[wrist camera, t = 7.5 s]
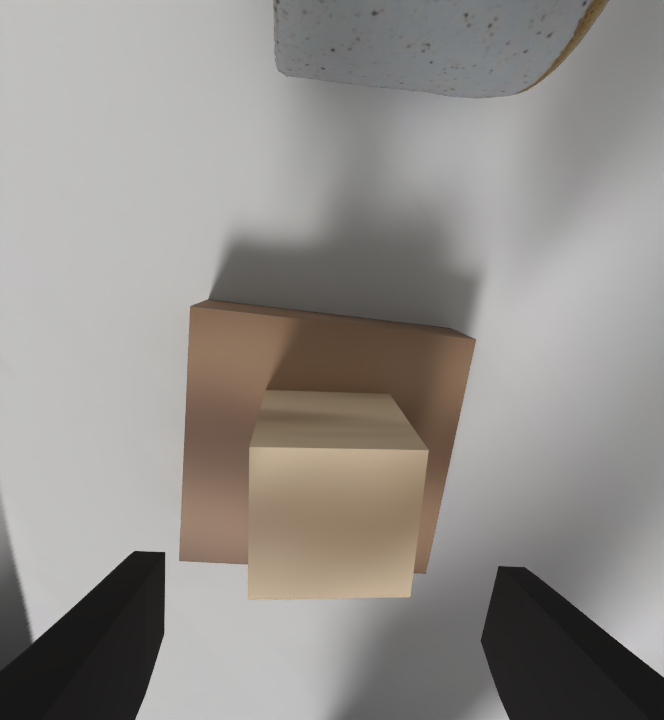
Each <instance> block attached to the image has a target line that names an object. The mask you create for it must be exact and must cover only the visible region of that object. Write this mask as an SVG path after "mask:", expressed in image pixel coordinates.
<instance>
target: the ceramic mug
mask: <svg viewBox="0 0 664 720" xmlns="http://www.w3.org/2000/svg"><path fill="white" fill-rule="evenodd" d="M608 1H609V0H273V4H274V41H275V62H276V67H277V69H278V71H279V72H281V73H282V74H284V75H285V76H290V77H301V78H310V79H319V80H326V81H334V82H341V83H348V84H356V85H365V86H374V87H384V88H393V89H403V90H412V91H422V92H428V93H434V94H440V95H445V96H454V97H466V98H490V97H500V96H510V95H514V94H518V93H521V92H524V91H527V90H528V89H530V88H531V87H533V86H534V85H536V84H537V83H539V82H540V81H542V80H543V79H544V78H545V77H546V76H548V75H549V74H550V73H551V72H552V71H554V70H555V69H556V68H557V67H558V66H559V65H560V64H561V63H562V62H563V61H564V60H565V58H566V57H567V56H568V55H569V54H570V53H571V52H572V51H573V50H574V48H575V47H576V46H577V45H578V44H579V43H580V41H581V40H582V39H583V37H584V36H585V34H586V33H587V32H588V30H589V29H590V27H591V26H592V25H593V23H594V22H595V20H596V19H597V17H598V16H599V15H600V13H601V12H602V10H603V9H604V7H605V6H606V4H607V2H608Z"/></svg>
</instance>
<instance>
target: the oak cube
mask: <svg viewBox="0 0 664 720" xmlns="http://www.w3.org/2000/svg"><path fill="white" fill-rule="evenodd" d="M428 453H429V450H428V448H427V447H426V445H425V444H424V443H423V441H422V440H421V438H420V437H419V435H418V434H417V432H416V431H415V430H414V428H413V427H412V425H411V424H410V422H409V421H408V419H407V418H406V417H405V415H404V414H403V412H402V411H401V409H400V408H399V407H398V405H397V404H396V402H395V401H394V399H393V398H392V396H391V395H390V394H377V393H346V392H315V391H283V390H265V393H264V397H263V400H262V404H261V407H260V411H259V414H258V418H257V421H256V425H255V429H254V432H253V436H252V439H251V443H250V446H249V529H248V600H278V599H338V598H398V597H410V596H411V588H412V580H413V572H414V564H415V556H416V548H417V540H418V532H419V524H420V517H421V509H422V501H423V493H424V485H425V477H426V469H427V461H428Z"/></svg>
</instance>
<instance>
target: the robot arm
mask: <svg viewBox="0 0 664 720" xmlns="http://www.w3.org/2000/svg"><path fill="white" fill-rule="evenodd" d="M164 609H165V552H144V551H134V552H133V553H132V554H130V555H129V556H128V557H127V558H126V559H125V560H124V561H123V562H121V563H120V564H119V565H118V566H117V567H116V568H115V569H114V570H113V571H112V572H111V573H110V574H109V575H108V576H106V577H105V578H104V579H103V580H102V581H101V582H100V583H99V584H98V585H97V586H96V587H95V588H94V589H93V590H91V591H90V592H89V593H88V594H87V595H86V596H85V597H84V598H83V599H82V600H81V601H80V602H78V603H77V604H76V605H75V606H74V607H73V608H72V609H71V610H70V611H69V612H67V613H66V614H65V615H64V616H63V617H62V618H61V619H60V620H58V621H57V622H56V623H55V624H54V625H53V626H52V627H51V628H49V629H48V630H47V631H46V632H45V633H44V634H43V635H42V636H40V637H39V638H38V639H37V640H36V641H35V642H34V643H33V644H31V645H30V646H29V647H28V648H27V649H26V650H25V651H24V652H22V653H21V654H20V655H19V656H17V657H16V658H15V659H14V660H13V661H11V662H10V663H9V664H8V665H7V666H6V667H4V668H3V669H2V670H1V671H0V720H135V719H136V716H137V714H138V711H139V709H140V706H141V704H142V701H143V699H144V696H145V694H146V691H147V688H148V684H149V681H150V678H151V675H152V672H153V669H154V666H155V662H156V659H157V656H158V652H159V649H160V646H161V642H162V639H163V636H164ZM481 643H482V646H483V649H484V652H485V655H486V658H487V661H488V665H489V668H490V671H491V674H492V676H493V679H494V682H495V685H496V688H497V691H498V694H499V696H500V699H501V701H502V703H503V706H504V708H505V710H506V713H507V715H508V717H509V719H510V720H664V677H662V676H661V675H660V674H659V673H657V672H656V671H655V670H653V669H652V668H651V667H650V666H648V665H647V664H646V663H644V662H643V661H642V660H641V659H639V658H638V657H637V656H636V655H634V654H633V653H632V652H630V651H629V650H628V649H627V648H625V647H624V646H623V645H622V644H620V643H619V642H618V641H617V640H615V639H614V638H613V637H612V636H610V635H609V634H608V633H607V632H605V631H604V630H603V629H602V628H601V627H599V626H598V625H597V624H596V623H594V622H593V621H592V620H591V619H589V618H588V617H587V616H586V615H585V614H583V613H582V612H581V611H580V610H578V609H577V608H576V607H575V606H573V605H572V604H571V603H570V602H569V601H567V600H566V599H565V598H564V597H562V596H561V595H560V594H559V593H557V592H556V591H555V590H554V589H552V588H551V587H550V586H549V585H547V584H546V583H545V582H544V581H542V580H541V579H540V578H538V577H537V576H536V575H534V574H533V573H532V572H530V571H529V570H528V569H526V568H525V567H504V566H499V567H498V571H497V576H496V580H495V584H494V588H493V592H492V596H491V600H490V605H489V609H488V613H487V617H486V621H485V625H484V630H483V634H482V638H481Z"/></svg>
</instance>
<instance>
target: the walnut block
mask: <svg viewBox="0 0 664 720" xmlns="http://www.w3.org/2000/svg"><path fill="white" fill-rule="evenodd" d="M475 342H476V339H474V338H471V337H469V336H467V335H465V334H462V333H460V332H458V331H455V330H453V329H451V328H443V327H435V326H426V325H418V324H409V323H401V322H393V321H384V320H376V319H367V318H359V317H351V316H342V315H334V314H325V313H317V312H309V311H300V310H292V309H283V308H275V307H266V306H258V305H250V304H241V303H233V302H224V301H216V300H206V301H203V302H200V303H198V304H195V305H192V306H190V324H189V347H188V370H187V393H186V416H185V439H184V462H183V485H182V508H181V531H180V553H179V561H190V562H210V563H229V564H248V529H249V446H250V443H251V439H252V436H253V432H254V429H255V425H256V421H257V418H258V414H259V411H260V407H261V404H262V400H263V397H264V393H265V390H283V391H315V392H346V393H377V394H390V395H391V396H392V398H393V399H394V401H395V402H396V404H397V405H398V407H399V408H400V409H401V411H402V412H403V414H404V415H405V417H406V418H407V419H408V421H409V422H410V424H411V425H412V427H413V428H414V430H415V431H416V432H417V434H418V435H419V437H420V438H421V440H422V441H423V443H424V444H425V445H426V447H427V448H428V450H429V453H428V461H427V469H426V477H425V485H424V493H423V501H422V509H421V517H420V524H419V532H418V540H417V548H416V556H415V564H414V572H413V573H422V574H426V570H427V565H428V561H429V556H430V551H431V547H432V542H433V537H434V533H435V528H436V523H437V519H438V514H439V509H440V505H441V500H442V495H443V491H444V486H445V481H446V477H447V472H448V467H449V463H450V458H451V453H452V449H453V444H454V439H455V435H456V430H457V425H458V421H459V416H460V411H461V407H462V402H463V398H464V393H465V388H466V384H467V379H468V374H469V370H470V365H471V360H472V356H473V351H474V346H475Z"/></svg>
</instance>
